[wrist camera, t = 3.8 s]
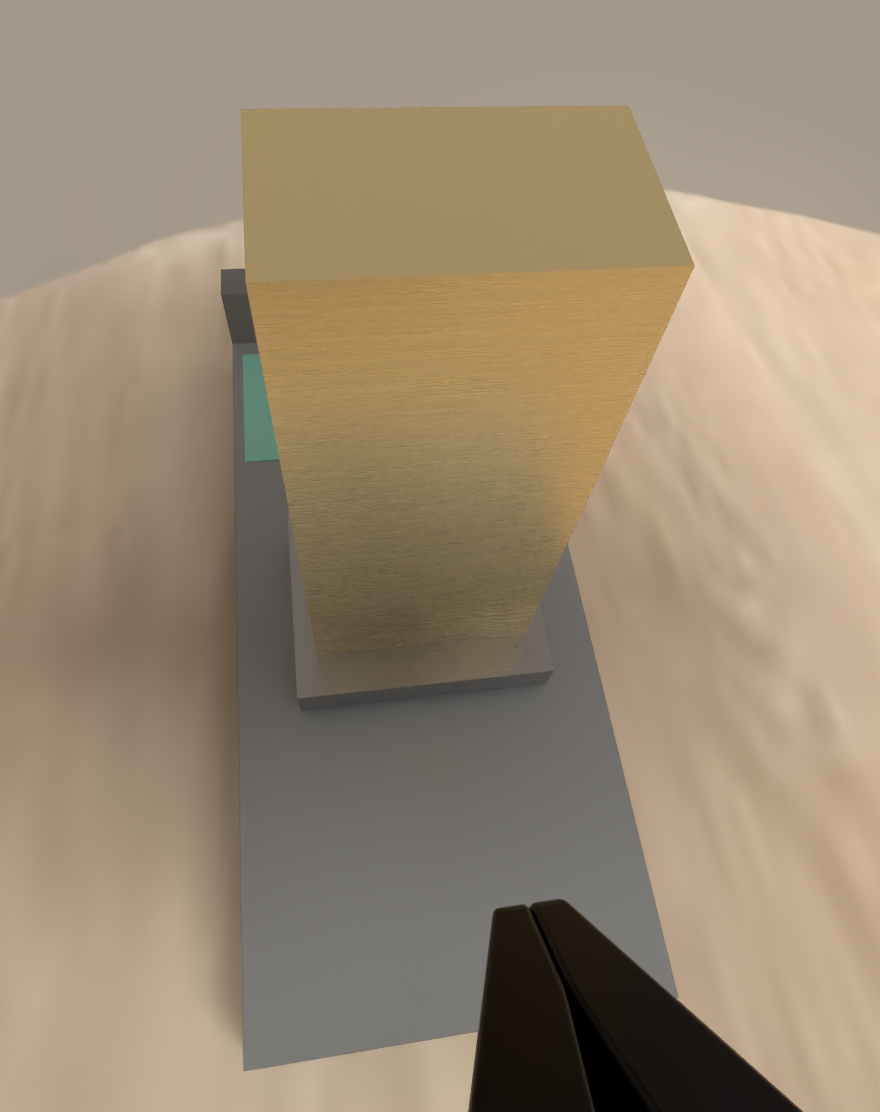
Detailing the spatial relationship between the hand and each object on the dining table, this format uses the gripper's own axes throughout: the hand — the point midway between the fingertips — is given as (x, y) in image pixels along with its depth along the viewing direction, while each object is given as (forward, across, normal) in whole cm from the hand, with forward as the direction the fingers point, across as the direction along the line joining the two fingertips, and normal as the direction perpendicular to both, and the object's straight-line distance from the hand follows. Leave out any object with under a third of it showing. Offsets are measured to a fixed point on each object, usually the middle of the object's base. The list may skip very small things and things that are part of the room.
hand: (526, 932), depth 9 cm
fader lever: (+11, 0, 0) cm, 11 cm away
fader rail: (+13, 0, +2) cm, 13 cm away
